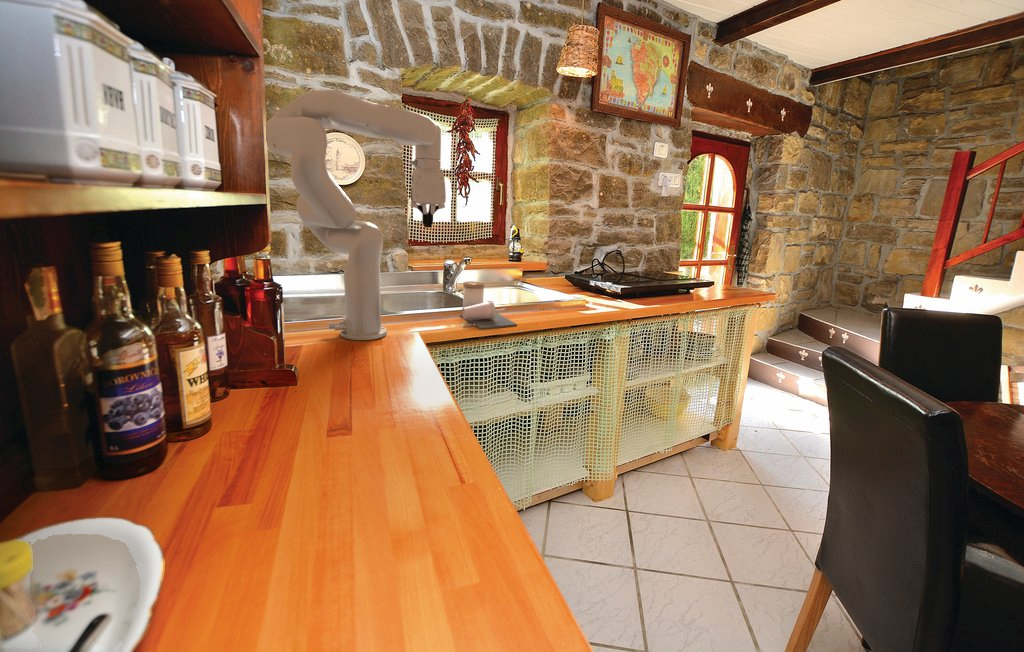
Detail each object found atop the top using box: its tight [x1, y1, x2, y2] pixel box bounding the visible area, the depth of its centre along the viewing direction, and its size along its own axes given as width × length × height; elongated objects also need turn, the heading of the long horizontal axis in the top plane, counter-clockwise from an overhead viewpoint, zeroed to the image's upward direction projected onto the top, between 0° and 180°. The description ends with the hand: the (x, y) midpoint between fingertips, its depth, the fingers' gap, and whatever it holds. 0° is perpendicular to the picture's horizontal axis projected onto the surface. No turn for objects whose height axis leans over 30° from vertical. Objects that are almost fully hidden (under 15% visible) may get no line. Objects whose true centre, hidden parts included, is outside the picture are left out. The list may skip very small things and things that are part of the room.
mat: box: [459, 312, 518, 330], centre depth 158 cm, size 13×16×1 cm
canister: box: [462, 280, 485, 309], centre depth 168 cm, size 7×7×10 cm
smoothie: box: [461, 300, 506, 320], centre depth 156 cm, size 6×6×14 cm
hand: (427, 227), depth 151 cm, fingers closed
